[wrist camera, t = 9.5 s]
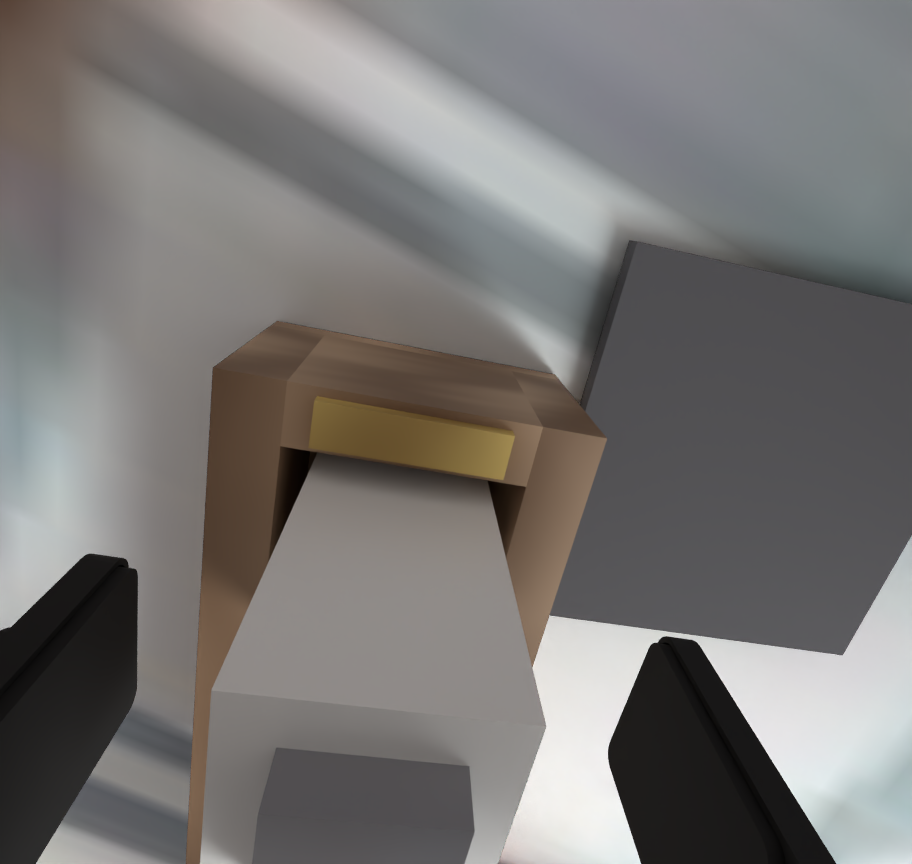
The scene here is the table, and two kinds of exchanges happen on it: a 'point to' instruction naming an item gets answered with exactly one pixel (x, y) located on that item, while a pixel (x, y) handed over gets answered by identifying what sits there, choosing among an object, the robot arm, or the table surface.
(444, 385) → the socket block
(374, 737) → the plug
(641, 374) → the mat
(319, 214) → the table surface
